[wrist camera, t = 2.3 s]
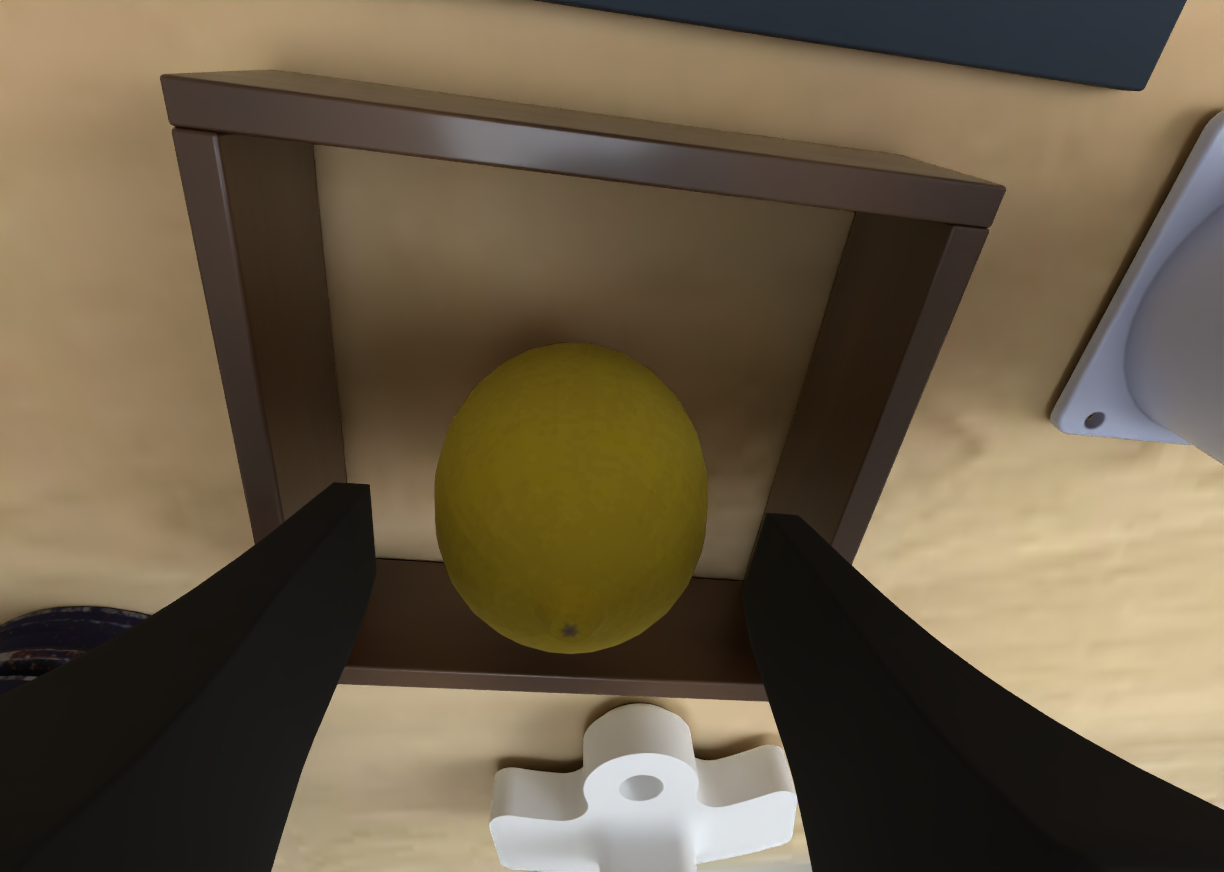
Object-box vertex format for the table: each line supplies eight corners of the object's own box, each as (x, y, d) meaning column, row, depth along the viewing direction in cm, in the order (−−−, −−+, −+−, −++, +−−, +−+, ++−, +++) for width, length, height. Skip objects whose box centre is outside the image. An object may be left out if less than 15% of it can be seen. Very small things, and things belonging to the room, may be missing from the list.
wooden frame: (903, 155, 14) (1009, 187, 11) (759, 597, 21) (795, 703, 17) (269, 68, 13) (157, 73, 9) (333, 572, 19) (281, 682, 16)
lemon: (529, 251, 15) (488, 419, 8) (720, 363, 16) (822, 581, 10) (431, 429, 17) (335, 680, 10) (608, 511, 19) (625, 773, 12)
